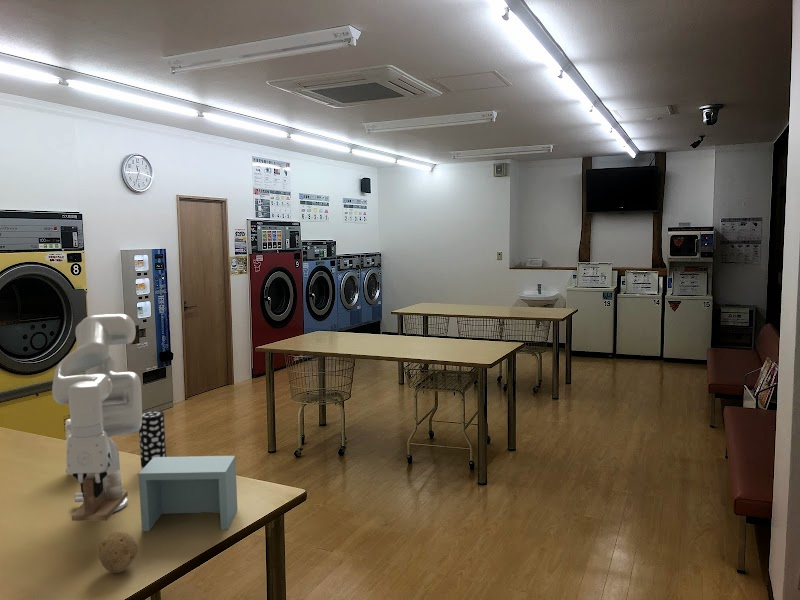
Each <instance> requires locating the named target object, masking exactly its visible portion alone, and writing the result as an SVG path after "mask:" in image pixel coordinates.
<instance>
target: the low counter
mask: <svg viewBox="0 0 800 600" xmlns="http://www.w3.org/2000/svg"><path fill="white" fill-rule="evenodd" d="M236 464H237V463H236V455H202V456H201V455H199V456H197V455H195V456H193V455H191V456H190V455H189V456H166V457H153V458H152V460H151V461H150V462H149V463H148V464H147V465H146V466H145V467H144V468H143V469H142V470H141V469H140V471H139V472H138V487H139V488H138V490H139V501H140V502H139V504H140V505H139V506H140V520H141V532H149V531H151V529H152V528H153V527H154V525H155V524H156V522H157V521H158V519H159V518H160V517H161V515H162V514H202V513H201V512H213V513H219V514H220V515H219V517H220V519H219V520H220V530H229V528H230V526H231V524H232V522H233V520H234V518H235V515H236V513H237V512H236V511H238V492H237V491H238V490H237V489H238V487H237V467H236V466H237V465H236Z"/></svg>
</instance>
